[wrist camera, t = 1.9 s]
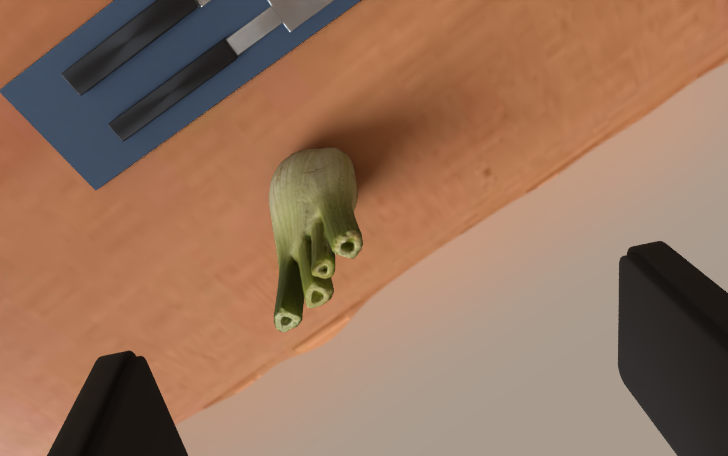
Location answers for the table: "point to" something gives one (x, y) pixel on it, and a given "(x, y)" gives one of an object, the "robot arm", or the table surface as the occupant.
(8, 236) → the table surface
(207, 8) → the napkin
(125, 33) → the cutlery
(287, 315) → the fennel bulb
